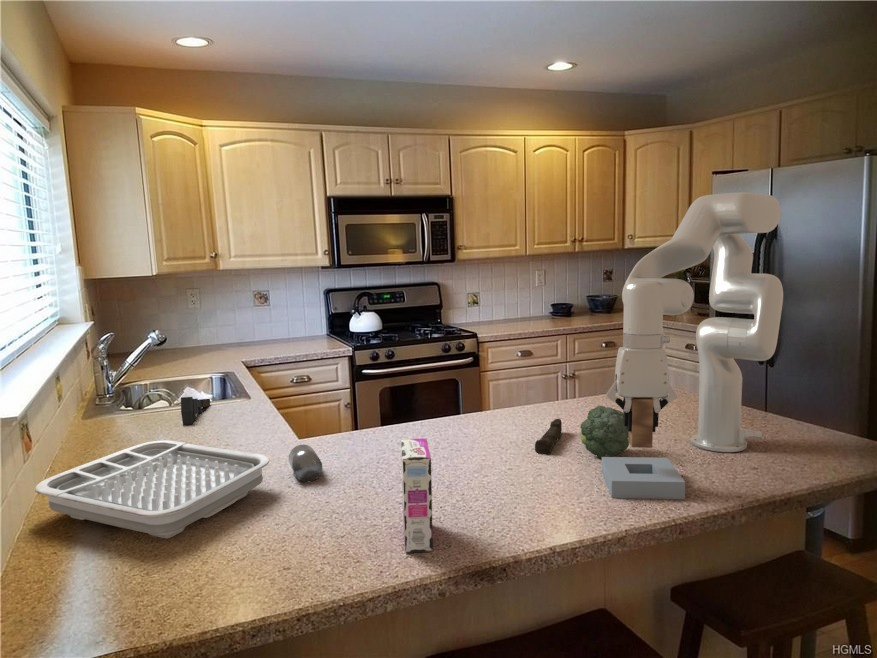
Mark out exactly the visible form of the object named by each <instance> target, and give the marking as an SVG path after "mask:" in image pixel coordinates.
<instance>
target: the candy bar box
mask: <svg viewBox="0 0 877 658" xmlns="http://www.w3.org/2000/svg"><path fill="white" fill-rule="evenodd" d="M400 445H401V449H400V452H401V453H400V455H401V456H400V457H401V458H400V459H401V490H402V522H403V525H402V526H403V538H404V539H403V540H404V551H405V554H407V553H411V554H412V553H426V552H427V553H428V552H433V551H434V550H433V549H434V545H433V544H434V539H433V537H434V536H433V532H434V531H433V496H432V495H433V493H432V492H433V490H432V489H433V486H432V483H433V482H432V456H431V452H430V448H429V443H428V439H427V438H410V439H409V438H408V439H401V441H400Z"/></svg>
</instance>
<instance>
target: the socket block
mask: <svg viewBox="0 0 877 658" xmlns="http://www.w3.org/2000/svg"><path fill="white" fill-rule="evenodd" d="M601 475H602V477H603V476H604V477H603V479H605V480H604V482H605V485H606V484H607V485H606V487H607V489H609V490H608V492H609V495H610V497H611V498H613V497H614V498H615V499H652V500H653V499H655V500H656V499H658V500H686V481H685V480H684V478H683V477H682V476H681V474H680V473H679V472H678V470H677V469H676V467H675V466H674V464H673V462H672V461H671V460H670V459H669V458H668V457H646V456H645V457H640V456H639V457H638V456H636V457H631V456H629V457H627V456H625V457H624V456H623V457H622V456H605V457H602V458H601ZM614 498H613V499H614Z"/></svg>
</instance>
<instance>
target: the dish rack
mask: <svg viewBox="0 0 877 658" xmlns="http://www.w3.org/2000/svg"><path fill="white" fill-rule="evenodd" d="M269 463H270V458H269V457H268V456H266V455H264V454H261V453H260V454H259V453H253V452H248V451H247V452H246V451H239V450H232V449H227V448H226V449H225V448H219V447H214V446H213V447H212V446H205V445H200V444H192V443H188V442H185V441H176V440H168V439H165V440H164V439H163V440H153V441H152V440H151V441H147V442H144V443H139V444H136V445H134V446H131V447H127V448H125V449H122V450H119V451H116V452H114V453H110V454H109V455H105V456H102V457H101V458H96V459H94V460H92V461H90V462H86V463H84V464H81V465H78V466H75V467H73V468H71V469H68V470H66V471H63V472H61V473H57V474H55V475H53V476H50V477H46V478H45V479H43V480H42V481H40V482H39V483H37V485H36V486H35V488H34V491H35V492H36V493H37V494H39V495H42V496H45V497H46V496H47V497H48V505H49V508H50V510H51V511H53V512H56V513H60V514H64V515H68V516H70V518H71V519H76V520H80V521H84V520H88V521H92V522H96V523H101V524H105V525H109V526H114V527H116V528H117V527H118V528H122V529H127V530H132V531H134V532H140V533H145V534H149V535H150V536H153V537H156V538H162V539H170V538H172V537H175V536H176V535H178V534H180V533H182V532H183V531H184V530H185V529H186V527H187V526H189V525H191V524H193V523H195V522H196V521H198V520H200V519H201V518H204V519H207V518H210V517H211V516H213V515H215V514H217V513H218V512H221V511H222V510H223V509H225V508H227V507H230V506H231V505H233V504H234V503H235V502H236V501H239V500H241V499H243V498H245V497H246V496H247V495H248V492H249V491H252V490H253V489H255V488H256V487H257V486H260V485H261V484H262V483H263V481H264V479H263V478H264V477H263V471H262V469H263V468H265V467H266V466H268V464H269Z"/></svg>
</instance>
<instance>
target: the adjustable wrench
mask: <svg viewBox="0 0 877 658" xmlns="http://www.w3.org/2000/svg"><path fill="white" fill-rule="evenodd" d="M210 406H211V398H201V399H199V398H193V396H183V397H182V396H181V397H180V413H181V421H182V426H193V425H194V423H196V418H197V414H200V413H202V412H203V409H202V408H206V407H210Z"/></svg>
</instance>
